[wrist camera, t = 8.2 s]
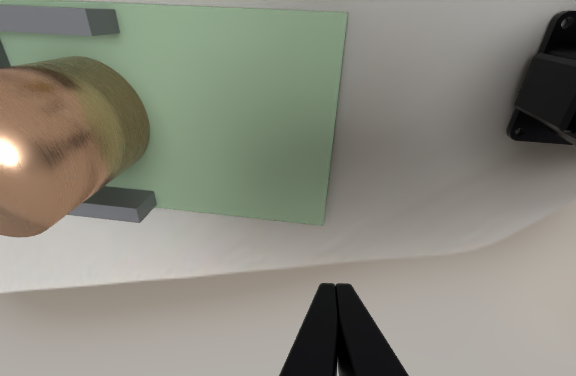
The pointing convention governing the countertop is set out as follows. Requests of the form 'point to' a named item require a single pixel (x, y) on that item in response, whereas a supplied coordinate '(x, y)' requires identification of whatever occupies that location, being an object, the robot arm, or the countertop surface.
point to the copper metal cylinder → (63, 138)
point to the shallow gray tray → (83, 23)
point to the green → (219, 101)
